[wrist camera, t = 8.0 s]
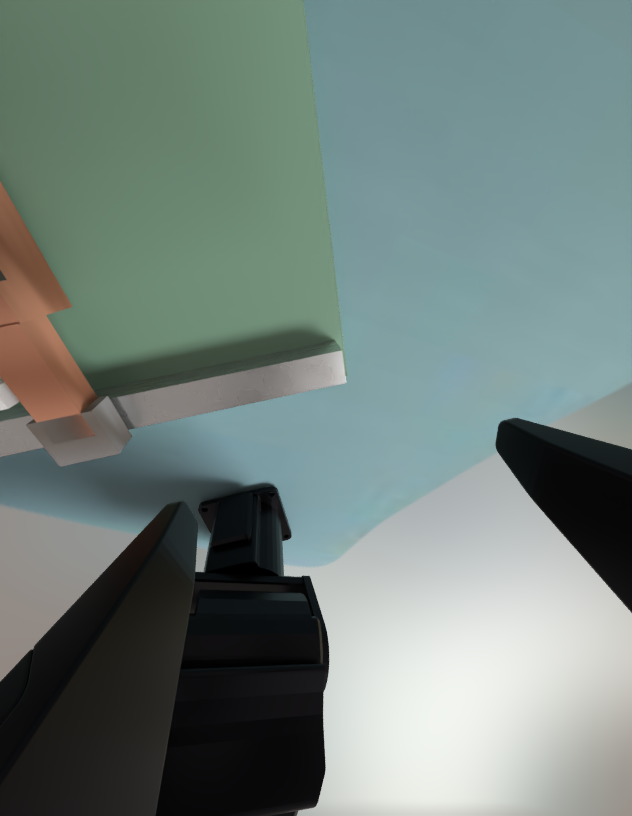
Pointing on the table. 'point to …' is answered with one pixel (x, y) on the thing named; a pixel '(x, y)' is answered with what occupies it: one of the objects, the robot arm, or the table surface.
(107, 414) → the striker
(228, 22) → the pitch
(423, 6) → the table surface
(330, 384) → the rail
